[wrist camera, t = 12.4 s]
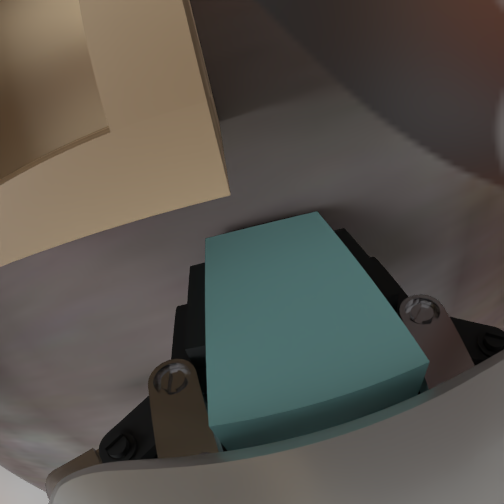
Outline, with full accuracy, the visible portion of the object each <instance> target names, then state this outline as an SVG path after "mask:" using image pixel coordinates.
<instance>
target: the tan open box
mask: <svg viewBox="0 0 504 504" xmlns="http://www.w3.org/2000/svg"><path fill="white" fill-rule="evenodd" d="M226 196H230V189H229V182H228V176H227V169H226V163H225V157H224V150H223V143H222V137H221V130H220V124H219V119H218V115H217V111H216V107H215V103H214V98H213V94H212V90H211V86H210V82H209V78H208V74H207V70H206V66H205V62H204V57H203V53H202V49H201V45H200V41H199V37H198V33H197V29H196V25H195V20H194V16H193V12H192V8H191V4H190V0H0V267H1V266H3V265H6V264H9V263H11V262H14V261H17V260H19V259H22V258H25V257H27V256H30V255H33V254H36V253H38V252H41V251H44V250H47V249H50V248H53V247H56V246H58V245H61V244H64V243H67V242H70V241H73V240H76V239H79V238H82V237H85V236H88V235H92V234H95V233H98V232H101V231H104V230H107V229H111V228H114V227H117V226H120V225H124V224H127V223H130V222H134V221H137V220H140V219H144V218H147V217H151V216H154V215H158V214H161V213H165V212H169V211H172V210H176V209H179V208H183V207H187V206H191V205H194V204H198V203H202V202H206V201H210V200H214V199H218V198H222V197H226Z"/></svg>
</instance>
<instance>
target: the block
mask: <svg viewBox="0 0 504 504" xmlns="http://www.w3.org/2000/svg"><path fill="white" fill-rule="evenodd" d="M205 335H206V374H207V400H208V421H209V427H210V429H211V430H212V431H213V433H214V434H215V435H216V437H217V438H218V439H219V440H220V442H221V443H222V444H223V446H224V447H225V448H226V449H227V451H231V450H237V449H243V448H249V447H254V446H259V445H264V444H269V443H274V442H278V441H282V440H287V439H291V438H295V437H299V436H303V435H307V434H310V433H314V432H318V431H321V430H324V429H328V428H331V427H334V426H338V425H341V424H344V423H347V422H350V421H353V420H356V419H359V418H362V417H364V416H367V415H370V414H373V413H375V412H378V411H381V410H383V409H386V408H388V407H391V406H393V405H396V404H398V403H400V402H403V401H405V400H407V399H410V398H412V397H414V396H417V395H418V392H419V390H420V387H421V384H422V382H423V379H424V376H425V374H426V371H427V368H428V365H429V362H430V361H429V360H428V358H427V357H426V355H425V354H424V352H423V351H422V349H421V348H420V346H419V345H418V343H417V342H416V340H415V339H414V338H413V336H412V335H411V333H410V332H409V330H408V329H407V327H406V326H405V325H404V323H403V322H402V320H401V319H400V317H399V316H398V315H397V313H396V312H395V310H394V309H393V308H392V306H391V305H390V304H389V302H388V301H387V299H386V298H385V297H384V295H383V294H382V293H381V291H380V290H379V289H378V287H377V286H376V285H375V283H374V282H373V281H372V279H371V278H370V277H369V275H368V274H367V273H366V271H365V270H364V269H363V267H362V266H361V265H360V264H359V262H358V261H357V260H356V258H355V257H354V256H353V255H352V253H351V252H350V251H349V250H348V248H347V247H346V246H345V245H344V243H343V242H342V241H341V240H340V238H339V237H338V236H337V235H336V233H335V232H334V231H333V230H332V229H331V227H330V226H329V225H328V224H327V222H326V221H325V220H324V219H323V218H322V216H321V215H320V214H319V213H318V212H317V211H316V212H312V213H308V214H303V215H299V216H295V217H291V218H287V219H282V220H278V221H274V222H270V223H266V224H262V225H258V226H254V227H250V228H246V229H241V230H237V231H233V232H229V233H226V234H222V235H218V236H214V237H210V238H206V240H205Z"/></svg>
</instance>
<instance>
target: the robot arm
mask: <svg viewBox="0 0 504 504" xmlns="http://www.w3.org/2000/svg"><path fill="white" fill-rule="evenodd" d="M334 232H335V233H336V235H337V236H338V237H339V238H340V240H341V241H342V242H343V243H344V245H345V246H346V247H347V248H348V250H349V251H350V252H351V253H352V255H353V256H354V257H355V258H356V260H357V261H358V262H359V264H360V265H361V266H362V267H363V269H364V270H365V271H366V273H367V274H368V275H369V277H370V278H371V279H372V281H373V282H374V283H375V285H376V286H377V287H378V289H379V290H380V291H381V293H382V294H383V295H384V297H385V298H386V299H387V301H388V302H389V304H390V305H391V306H392V308H393V309H394V310H395V312H396V313H397V315H398V316H399V317H400V319H401V320H402V322H403V323H404V325H405V326H406V327H407V329H408V330H409V332H410V333H411V335H412V336H413V338H414V339H415V340H416V342H417V343H418V345H419V346H420V348H421V349H422V351H423V352H424V354H425V355H426V357H427V358H428V360H429V361H430V362H429V365H428V368H427V371H426V374H425V376H424V379H423V382H422V384H421V387H420V390H419V392H418V395H417V396H414V397H412V398H410V399H407V400H405V401H403V402H400V403H398V404H396V405H393V406H391V407H388V408H386V409H383V410H381V411H378V412H375V413H373V414H370V415H367V416H364V417H362V418H359V419H356V420H353V421H350V422H347V423H344V424H341V425H338V426H334V427H331V428H328V429H324V430H321V431H318V432H314V433H310V434H307V435H303V436H299V437H295V438H291V439H287V440H282V441H278V442H274V443H269V444H264V445H259V446H254V447H249V448H243V449H237V450H231V451H227V449H226V448H225V447H224V446H223V444H222V443H221V442H220V440H219V439H218V438H217V437H216V435H215V434H214V433H213V431H212V430H211V429H210V427H209V421H208V400H207V374H206V335H205V263H201V264H197V265H193V266H190V274H189V287H188V301H187V304H185V305H181V306H178V307H177V308H176V314H175V324H174V334H173V345H172V357H171V360H168V361H166V362H164V363H162V364H160V365H159V366H158V367H156V368H155V369H154V371H153V372H152V373H151V375H150V377H149V381H148V389H149V396H148V397H147V398H146V399H145V400H144V401H143V402H141V403H140V404H139V405H138V406H137V407H136V408H135V409H134V410H133V411H132V412H130V413H129V414H128V415H127V416H126V417H125V418H124V419H123V420H122V421H120V422H119V423H118V424H117V425H116V426H115V427H114V428H113V429H111V430H110V431H109V432H108V433H107V434H106V435H105V436H104V438H103V439H102V441H101V443H100V446H99V449H98V450H95V449H93V448H92V449H91V450H89V451H87V452H85V453H84V454H82V455H80V456H78V457H77V458H75V459H73V460H71V461H70V462H68V463H66V464H64V465H62V466H61V467H59V468H57V469H55V470H53V471H52V472H51V473H50V474H49V475H48V477H47V479H46V483H45V488H46V493H47V496H48V498H49V503H48V504H504V331H502V330H501V329H499V328H496V327H492V326H488V325H483V324H479V323H475V322H470V321H466V320H461V319H457V318H453V317H449V315H448V313H447V311H446V310H445V308H444V306H443V305H442V304H441V302H440V301H439V300H437V299H436V298H434V297H431V296H429V295H422V294H420V295H413V296H410V297H408V296H407V294H406V293H405V292H404V291H403V290H402V288H401V287H400V286H399V285H398V283H397V282H396V281H395V280H394V279H393V277H392V276H391V275H390V274H389V273H388V272H387V270H386V269H385V268H384V267H383V266H382V265H381V263H380V262H379V261H378V260H377V259H376V258H375V257H369V256H368V255H367V254H366V253H365V251H364V250H363V249H362V248H361V247H360V246H359V244H358V243H357V242H356V241H355V240H354V239H353V238H352V236H351V235H350V234H349V233H348V232H347V231H346V230H345V229H344V228H343V229H339V230H335V231H334Z"/></svg>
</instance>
